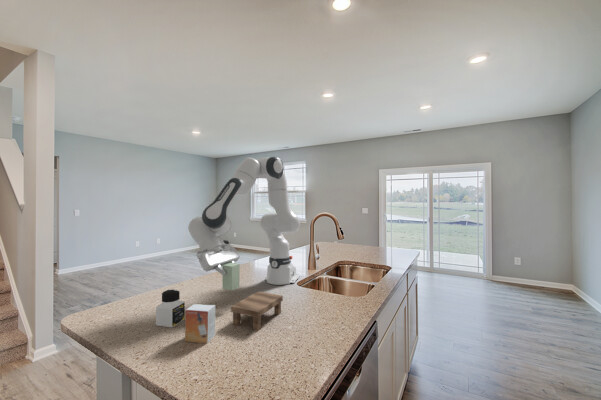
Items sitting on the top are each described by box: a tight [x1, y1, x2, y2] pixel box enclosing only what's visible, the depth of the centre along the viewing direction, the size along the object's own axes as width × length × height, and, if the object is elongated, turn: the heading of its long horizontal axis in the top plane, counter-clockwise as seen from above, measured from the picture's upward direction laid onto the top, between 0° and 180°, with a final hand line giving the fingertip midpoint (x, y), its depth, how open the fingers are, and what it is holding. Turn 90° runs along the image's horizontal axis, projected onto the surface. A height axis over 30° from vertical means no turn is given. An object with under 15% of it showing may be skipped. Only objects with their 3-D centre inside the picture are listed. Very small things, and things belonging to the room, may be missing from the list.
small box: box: [184, 303, 216, 345], centre depth 89 cm, size 8×6×10 cm
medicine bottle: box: [155, 288, 186, 328], centre depth 101 cm, size 7×7×12 cm
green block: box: [222, 262, 241, 291], centre depth 114 cm, size 5×5×10 cm
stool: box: [230, 291, 284, 332], centre depth 105 cm, size 18×12×7 cm, turn 155°
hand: (230, 272), depth 114 cm, fingers closed on green block, 5 cm apart
